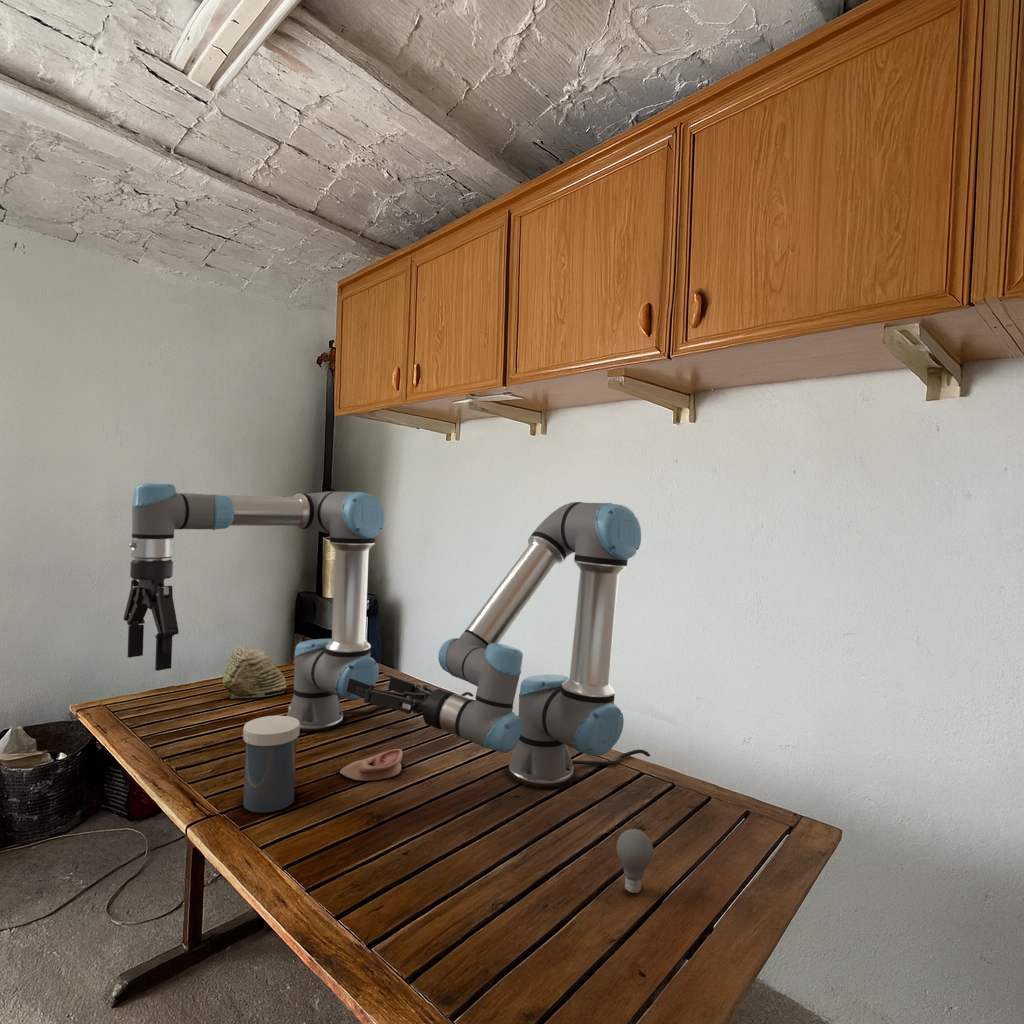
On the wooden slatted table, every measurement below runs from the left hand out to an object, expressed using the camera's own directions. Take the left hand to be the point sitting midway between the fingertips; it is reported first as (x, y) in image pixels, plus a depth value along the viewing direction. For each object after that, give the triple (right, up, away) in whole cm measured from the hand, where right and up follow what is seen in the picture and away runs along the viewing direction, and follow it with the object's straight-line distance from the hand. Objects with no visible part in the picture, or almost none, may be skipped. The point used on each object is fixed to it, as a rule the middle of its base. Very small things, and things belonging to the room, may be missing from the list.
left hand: (148, 662), depth 129 cm
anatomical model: (+42, -30, +18) cm, 54 cm away
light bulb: (+94, -33, -24) cm, 103 cm away
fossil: (-6, -27, +69) cm, 74 cm away
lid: (+25, -14, +1) cm, 28 cm away
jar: (+24, -29, +2) cm, 38 cm away
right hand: (+43, -7, +9) cm, 45 cm away
